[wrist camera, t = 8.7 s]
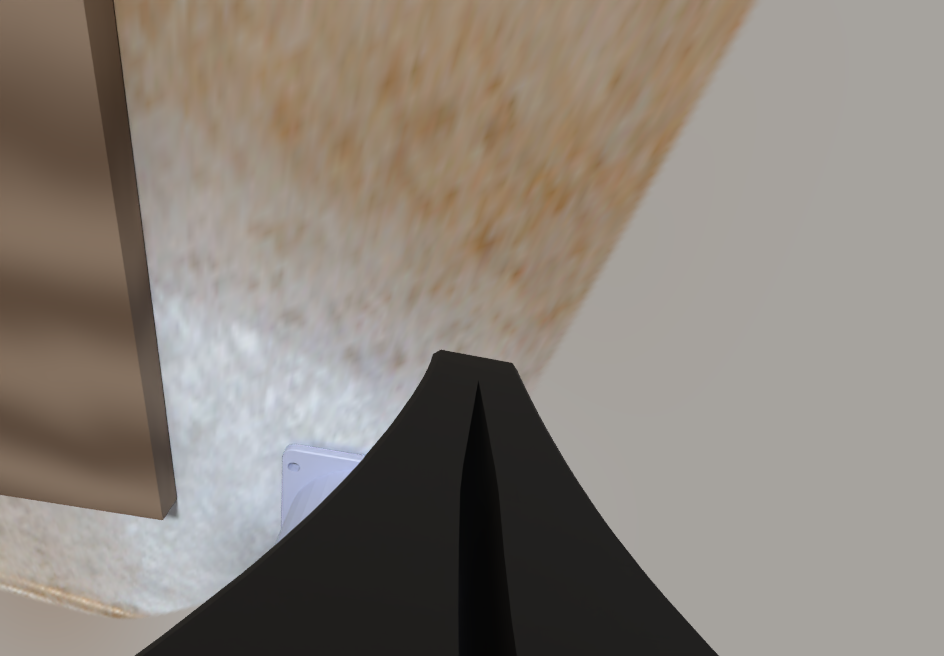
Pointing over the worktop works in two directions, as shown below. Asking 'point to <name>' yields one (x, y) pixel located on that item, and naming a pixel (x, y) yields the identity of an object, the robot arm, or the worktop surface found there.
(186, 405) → the worktop surface
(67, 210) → the walnut board
